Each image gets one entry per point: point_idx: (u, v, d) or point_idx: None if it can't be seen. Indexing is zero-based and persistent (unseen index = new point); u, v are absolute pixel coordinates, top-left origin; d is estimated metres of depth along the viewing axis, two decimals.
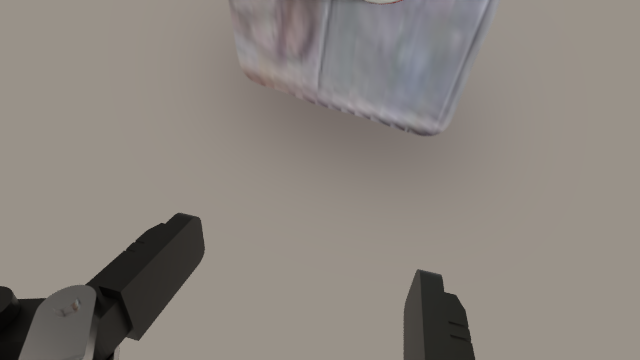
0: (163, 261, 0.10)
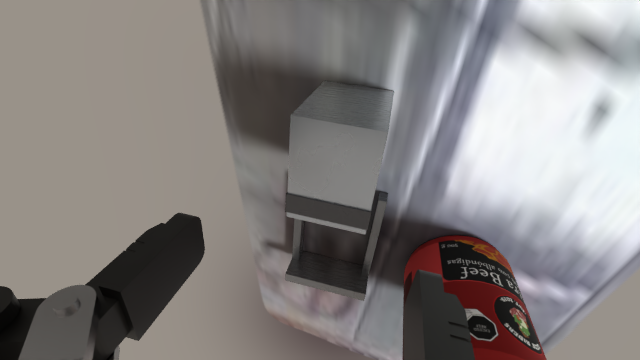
0: (163, 261, 0.10)
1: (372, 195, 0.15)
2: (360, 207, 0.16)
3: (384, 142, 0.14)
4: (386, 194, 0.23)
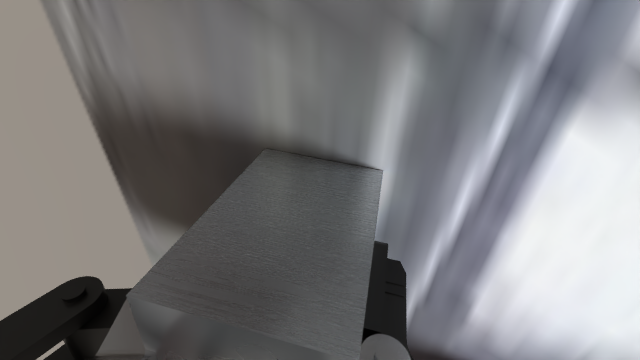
0: None
1: None
2: None
3: None
4: None
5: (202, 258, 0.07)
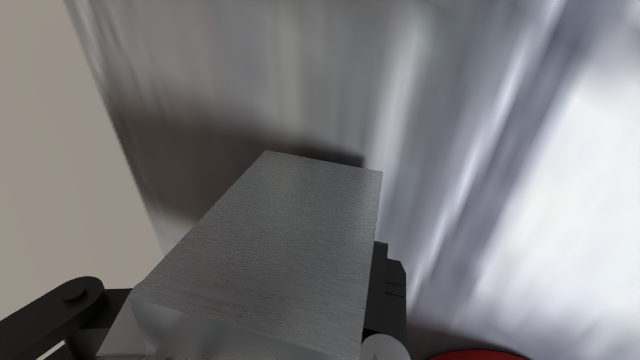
0: None
1: None
2: None
3: None
4: None
5: (203, 259, 0.07)
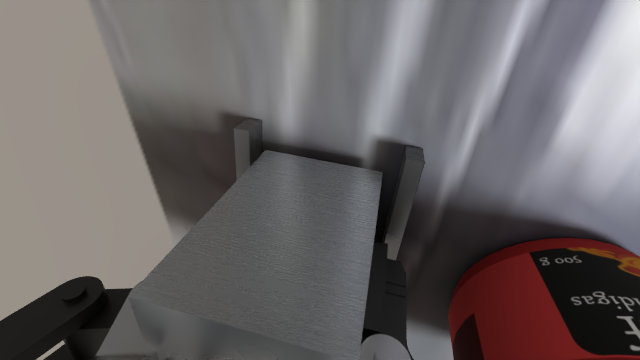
0: None
1: None
2: None
3: None
4: (421, 150, 0.11)
5: (203, 259, 0.07)
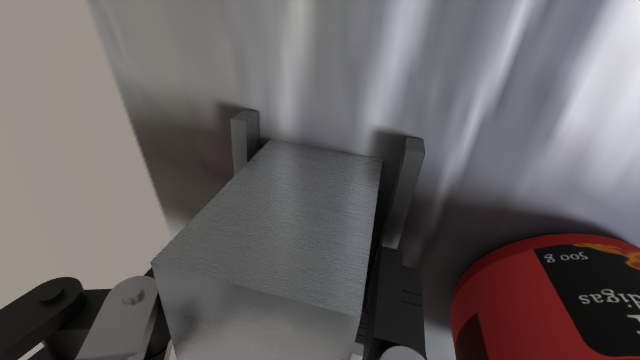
0: None
1: None
2: None
3: (353, 332, 0.06)
4: (421, 140, 0.11)
5: (217, 232, 0.07)
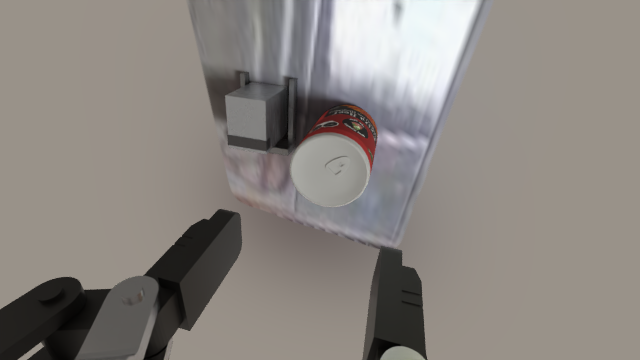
0: (211, 255, 0.10)
1: (265, 132, 0.33)
2: (261, 139, 0.34)
3: (264, 105, 0.32)
4: None
5: (237, 93, 0.33)
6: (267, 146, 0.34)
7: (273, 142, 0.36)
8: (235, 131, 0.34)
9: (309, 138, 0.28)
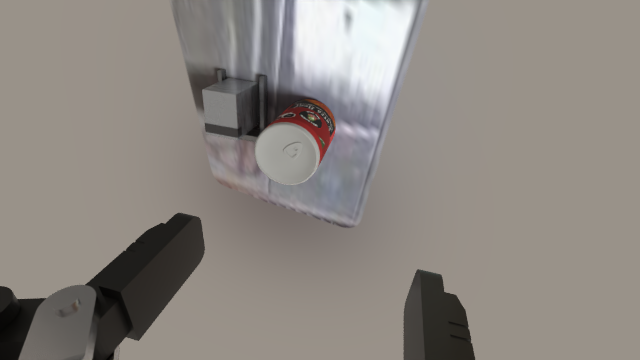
0: (163, 261, 0.10)
1: (236, 121, 0.39)
2: (233, 127, 0.40)
3: (235, 98, 0.37)
4: None
5: (213, 87, 0.39)
6: (239, 133, 0.40)
7: (245, 130, 0.42)
8: (211, 120, 0.40)
9: (269, 126, 0.34)
